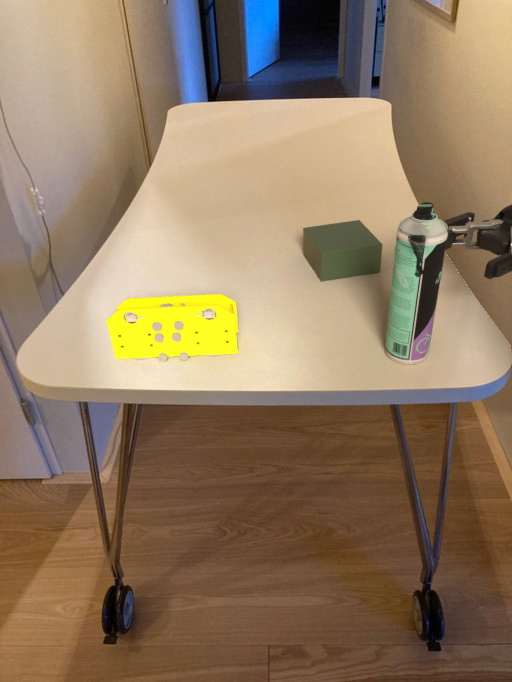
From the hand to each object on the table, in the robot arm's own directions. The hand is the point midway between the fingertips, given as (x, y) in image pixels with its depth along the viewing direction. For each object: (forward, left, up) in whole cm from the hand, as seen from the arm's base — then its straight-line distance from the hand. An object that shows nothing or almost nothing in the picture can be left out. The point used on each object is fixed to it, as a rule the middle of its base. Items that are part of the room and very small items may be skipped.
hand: (458, 258), depth 68 cm
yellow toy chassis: (+31, +19, -11) cm, 38 cm away
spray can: (+3, +7, -11) cm, 13 cm away
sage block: (+21, -13, -11) cm, 27 cm away
